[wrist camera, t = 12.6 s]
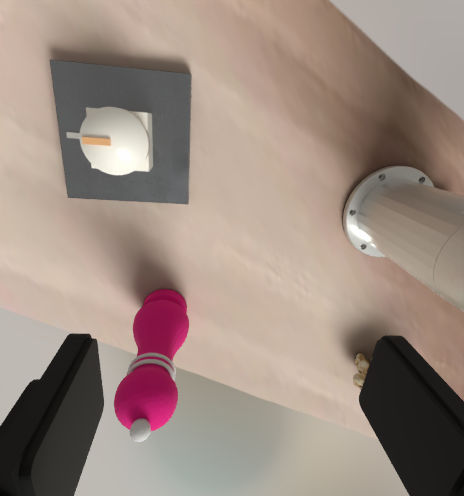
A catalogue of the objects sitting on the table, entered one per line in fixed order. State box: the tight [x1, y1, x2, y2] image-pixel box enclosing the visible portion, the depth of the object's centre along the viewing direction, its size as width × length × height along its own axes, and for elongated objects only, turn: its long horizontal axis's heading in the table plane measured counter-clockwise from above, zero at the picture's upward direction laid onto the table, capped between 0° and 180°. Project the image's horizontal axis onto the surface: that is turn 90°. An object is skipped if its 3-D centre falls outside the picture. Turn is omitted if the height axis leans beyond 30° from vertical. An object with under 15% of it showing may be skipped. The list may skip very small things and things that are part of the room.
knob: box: [80, 107, 153, 175], centre depth 30 cm, size 6×6×6 cm
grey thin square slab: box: [50, 60, 192, 204], centre depth 33 cm, size 14×14×5 cm
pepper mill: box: [114, 289, 189, 442], centre depth 35 cm, size 7×7×20 cm
